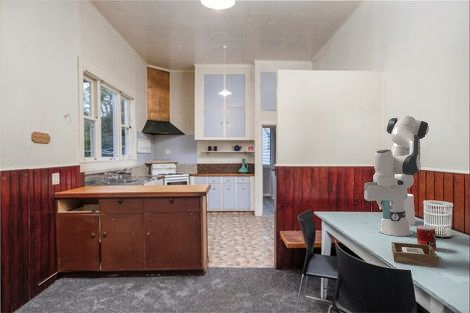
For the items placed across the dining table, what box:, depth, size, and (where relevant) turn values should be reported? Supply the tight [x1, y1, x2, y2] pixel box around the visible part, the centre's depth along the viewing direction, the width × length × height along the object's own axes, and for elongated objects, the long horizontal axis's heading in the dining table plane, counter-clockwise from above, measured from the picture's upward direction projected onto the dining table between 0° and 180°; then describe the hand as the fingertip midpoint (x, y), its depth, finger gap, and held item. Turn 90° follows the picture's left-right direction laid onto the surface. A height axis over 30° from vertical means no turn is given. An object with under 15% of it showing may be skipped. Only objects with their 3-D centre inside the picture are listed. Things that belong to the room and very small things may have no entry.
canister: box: [404, 193, 416, 226], centre depth 192 cm, size 16×16×20 cm
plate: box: [402, 247, 424, 254], centre depth 123 cm, size 8×8×4 cm
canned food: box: [416, 224, 437, 251], centre depth 136 cm, size 8×8×11 cm
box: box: [391, 241, 439, 268], centre depth 123 cm, size 16×16×5 cm
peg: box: [381, 200, 390, 219], centre depth 135 cm, size 3×3×12 cm
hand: (386, 209), depth 134 cm, fingers closed on peg, 3 cm apart
